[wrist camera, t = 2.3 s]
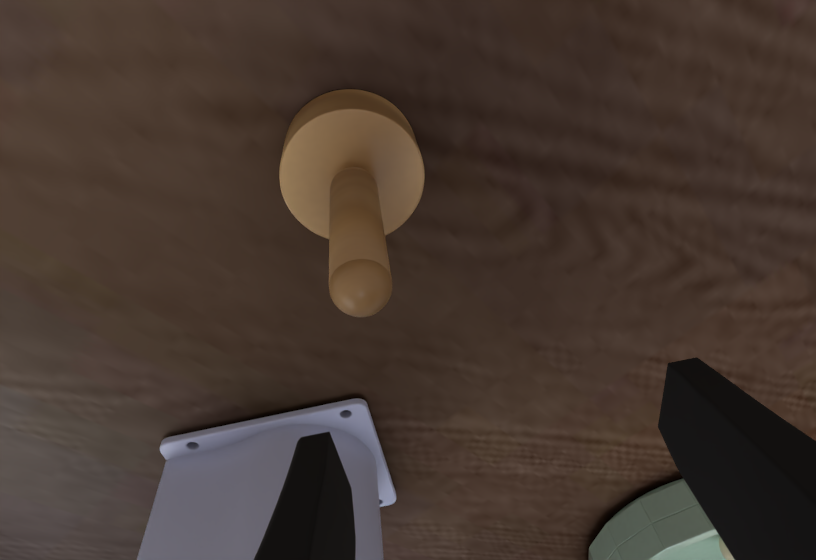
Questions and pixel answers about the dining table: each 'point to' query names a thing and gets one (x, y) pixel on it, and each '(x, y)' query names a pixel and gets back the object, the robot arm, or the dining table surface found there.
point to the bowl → (659, 529)
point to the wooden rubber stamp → (353, 188)
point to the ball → (725, 550)
